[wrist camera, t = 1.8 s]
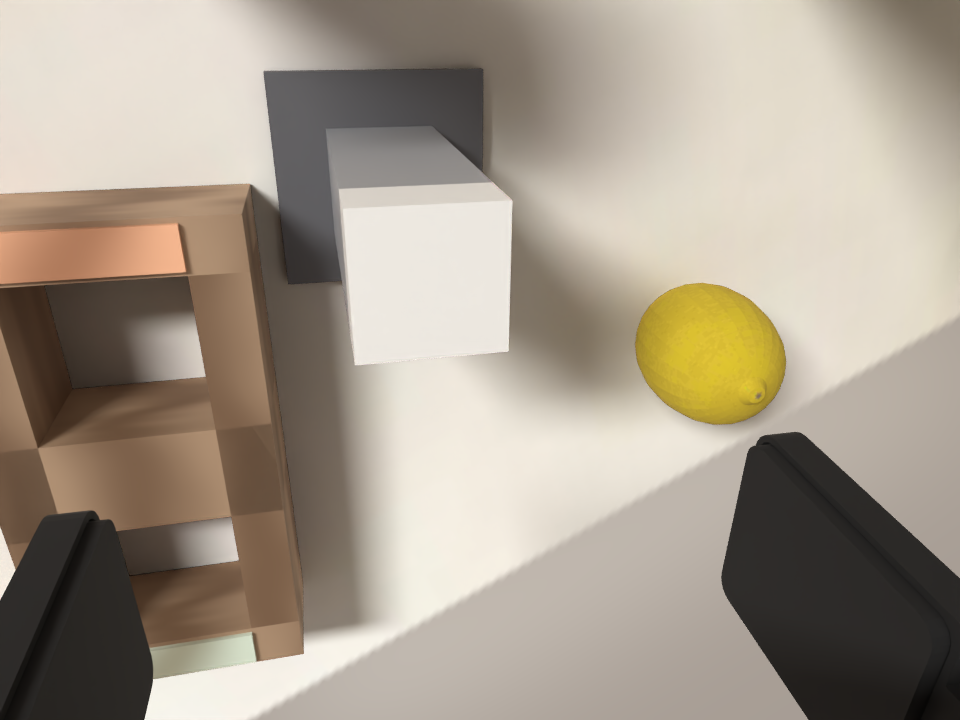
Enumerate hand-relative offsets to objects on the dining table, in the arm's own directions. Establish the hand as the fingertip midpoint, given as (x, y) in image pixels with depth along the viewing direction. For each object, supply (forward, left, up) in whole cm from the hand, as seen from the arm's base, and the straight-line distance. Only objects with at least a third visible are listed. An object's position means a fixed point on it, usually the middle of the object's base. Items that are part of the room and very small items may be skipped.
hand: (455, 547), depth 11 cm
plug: (-1, -1, -20) cm, 20 cm away
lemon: (-14, +6, -21) cm, 26 cm away
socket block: (+9, +9, -21) cm, 24 cm away
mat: (-1, -1, -21) cm, 21 cm away
